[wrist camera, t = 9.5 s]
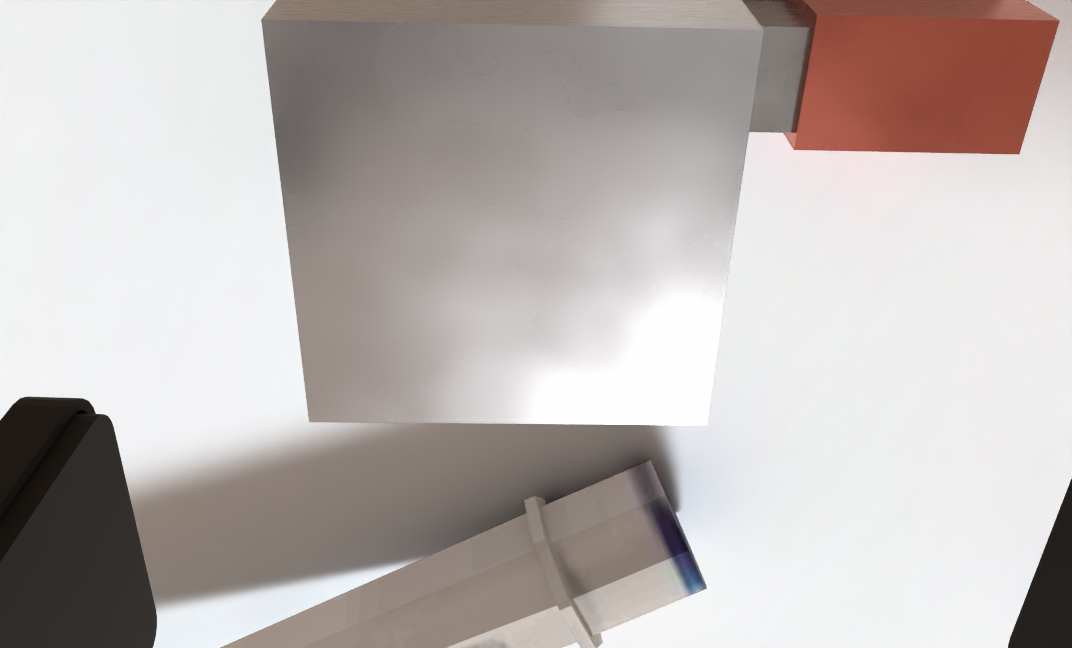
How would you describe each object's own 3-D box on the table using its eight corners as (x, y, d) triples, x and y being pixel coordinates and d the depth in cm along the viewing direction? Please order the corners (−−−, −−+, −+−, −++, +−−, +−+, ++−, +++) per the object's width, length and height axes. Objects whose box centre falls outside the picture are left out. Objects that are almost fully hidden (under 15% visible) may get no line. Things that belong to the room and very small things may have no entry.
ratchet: (1032, -99, 21) (1283, 1, 14) (955, 185, 24) (1127, 376, 17) (358, -118, 20) (280, -25, 14) (376, 174, 24) (321, 366, 17)
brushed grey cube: (680, -81, 18) (763, 29, 12) (651, 220, 21) (706, 425, 15) (345, -88, 18) (261, 19, 12) (366, 216, 21) (309, 421, 15)
